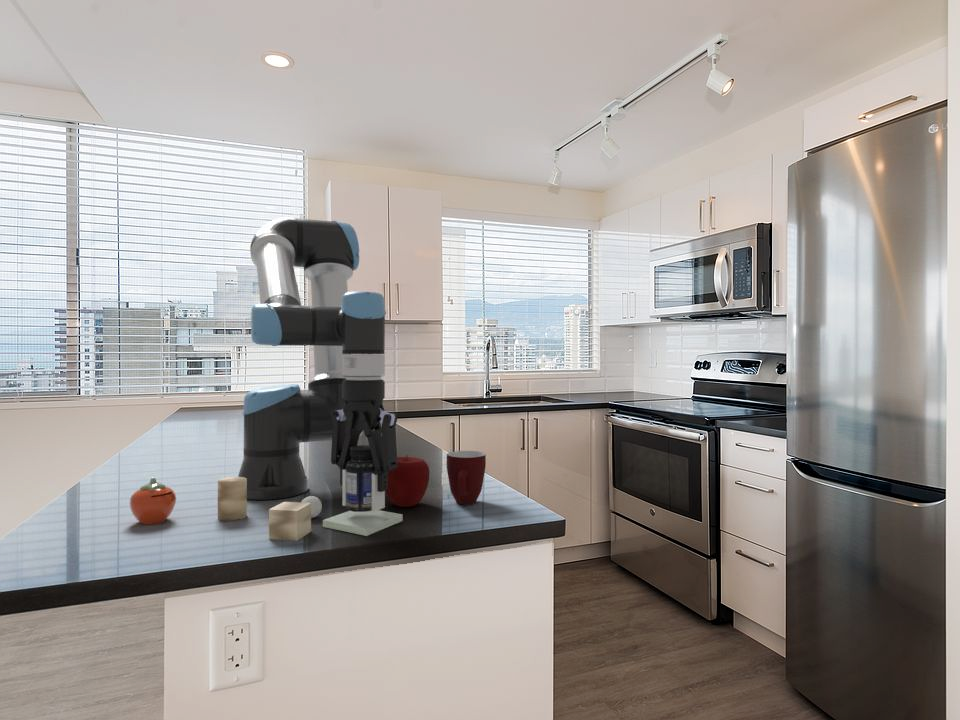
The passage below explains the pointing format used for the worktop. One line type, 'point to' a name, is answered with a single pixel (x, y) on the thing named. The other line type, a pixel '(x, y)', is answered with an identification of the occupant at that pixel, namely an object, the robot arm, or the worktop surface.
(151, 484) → the tomato
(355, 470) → the pill bottle
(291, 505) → the maple block
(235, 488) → the oak cylinder
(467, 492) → the mug
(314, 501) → the grey ball
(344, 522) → the coaster
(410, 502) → the apple
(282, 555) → the worktop surface
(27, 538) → the worktop surface
